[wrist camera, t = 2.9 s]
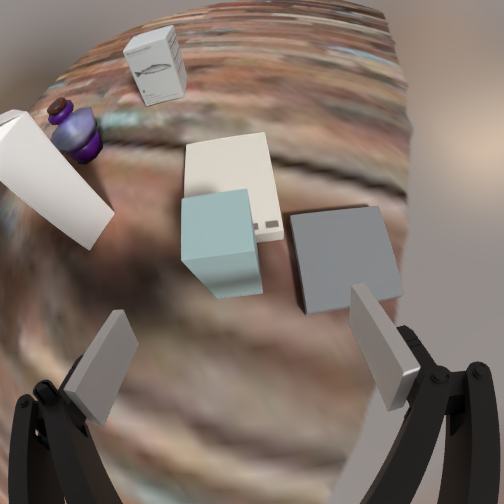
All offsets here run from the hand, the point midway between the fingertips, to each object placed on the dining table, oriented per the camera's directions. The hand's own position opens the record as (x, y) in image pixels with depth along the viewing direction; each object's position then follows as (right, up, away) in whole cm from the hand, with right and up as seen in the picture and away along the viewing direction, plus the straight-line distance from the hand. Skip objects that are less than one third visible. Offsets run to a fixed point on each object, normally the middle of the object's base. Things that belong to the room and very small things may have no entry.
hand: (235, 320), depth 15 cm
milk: (-21, +7, +17) cm, 28 cm away
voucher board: (-2, +11, +16) cm, 20 cm away
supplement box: (-14, +33, +26) cm, 44 cm away
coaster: (+10, +3, +12) cm, 16 cm away
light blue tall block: (0, +2, +13) cm, 13 cm away
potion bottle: (-26, +21, +23) cm, 40 cm away
